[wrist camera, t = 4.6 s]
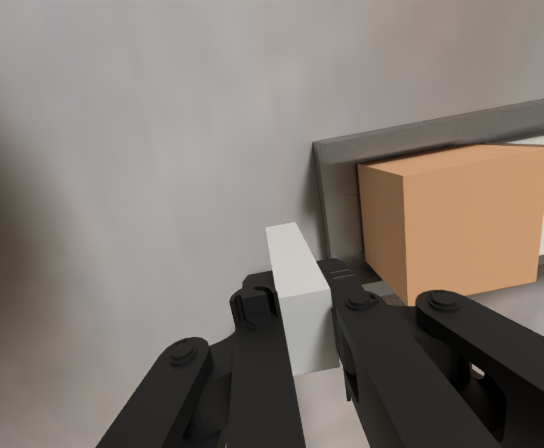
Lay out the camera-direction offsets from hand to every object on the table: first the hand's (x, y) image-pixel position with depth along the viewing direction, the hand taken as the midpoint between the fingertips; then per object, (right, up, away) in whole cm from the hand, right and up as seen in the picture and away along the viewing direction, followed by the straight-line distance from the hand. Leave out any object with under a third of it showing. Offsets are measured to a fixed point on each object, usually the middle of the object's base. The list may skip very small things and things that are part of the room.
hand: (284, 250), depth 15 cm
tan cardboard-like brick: (+8, +2, +3) cm, 8 cm away
